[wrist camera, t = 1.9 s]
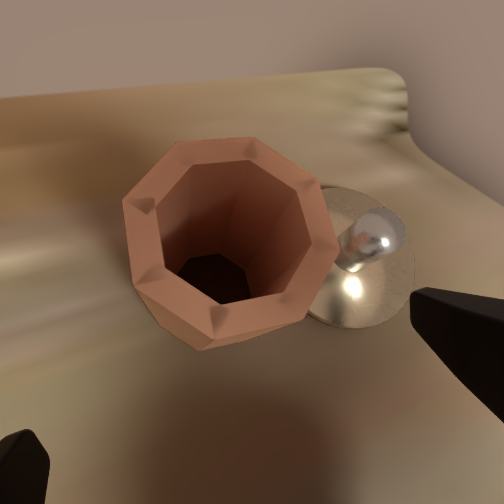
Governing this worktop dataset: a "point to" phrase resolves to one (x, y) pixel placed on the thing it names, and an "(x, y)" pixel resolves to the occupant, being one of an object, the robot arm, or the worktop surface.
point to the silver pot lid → (364, 263)
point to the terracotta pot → (228, 238)
